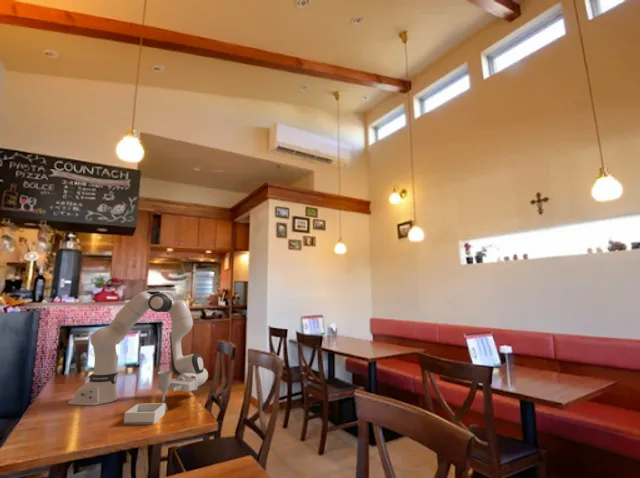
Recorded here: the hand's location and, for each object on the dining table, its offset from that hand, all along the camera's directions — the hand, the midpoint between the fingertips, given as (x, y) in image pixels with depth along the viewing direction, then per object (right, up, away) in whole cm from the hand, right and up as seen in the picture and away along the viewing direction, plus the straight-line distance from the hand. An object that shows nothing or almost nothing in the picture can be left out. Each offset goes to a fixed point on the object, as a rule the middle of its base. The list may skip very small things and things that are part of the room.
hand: (165, 388), depth 175 cm
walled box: (-2, -8, -16) cm, 17 cm away
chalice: (0, -10, -3) cm, 10 cm away
